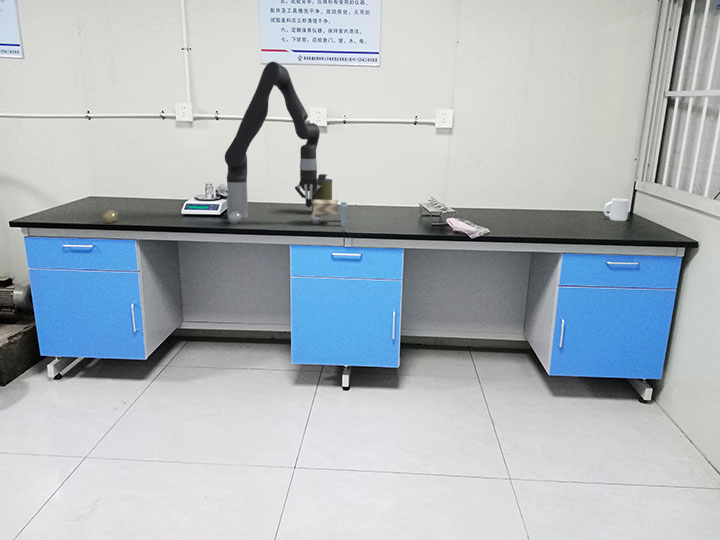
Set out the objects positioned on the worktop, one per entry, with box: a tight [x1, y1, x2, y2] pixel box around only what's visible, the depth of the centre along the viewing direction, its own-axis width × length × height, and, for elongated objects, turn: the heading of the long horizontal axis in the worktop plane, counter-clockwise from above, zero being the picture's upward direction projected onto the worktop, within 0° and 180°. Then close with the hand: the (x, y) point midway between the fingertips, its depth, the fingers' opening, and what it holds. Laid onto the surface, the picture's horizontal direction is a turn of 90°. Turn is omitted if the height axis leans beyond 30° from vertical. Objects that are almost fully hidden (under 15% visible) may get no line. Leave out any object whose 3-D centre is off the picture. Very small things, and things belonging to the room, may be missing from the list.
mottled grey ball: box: [310, 212, 323, 225], centre depth 257 cm, size 5×6×5 cm
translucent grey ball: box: [227, 211, 242, 225], centre depth 255 cm, size 5×6×5 cm
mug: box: [602, 197, 630, 222], centre depth 279 cm, size 12×8×10 cm
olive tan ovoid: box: [101, 209, 119, 224], centre depth 253 cm, size 5×6×5 cm
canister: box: [311, 173, 334, 216], centre depth 280 cm, size 11×10×20 cm
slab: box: [313, 199, 339, 215], centre depth 256 cm, size 11×12×5 cm
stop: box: [340, 201, 348, 227], centre depth 257 cm, size 2×14×9 cm, turn 3°
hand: (308, 207), depth 256 cm, fingers closed
